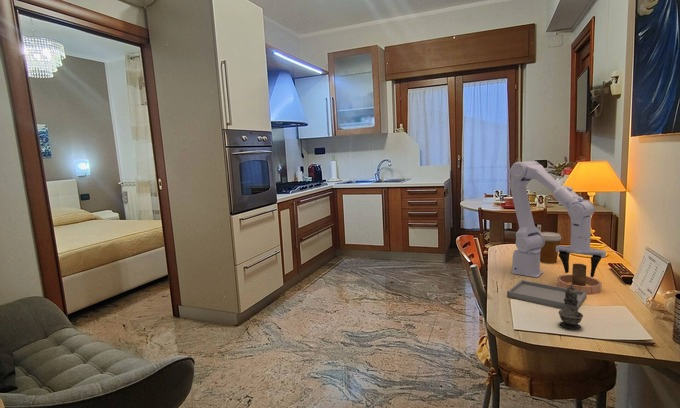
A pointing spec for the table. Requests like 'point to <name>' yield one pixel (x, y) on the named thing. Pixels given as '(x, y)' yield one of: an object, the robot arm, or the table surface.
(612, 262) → the table surface
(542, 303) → the tray
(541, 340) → the table surface
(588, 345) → the table surface
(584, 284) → the dowel
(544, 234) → the disposable coffee cup
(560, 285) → the pinkish brown ring
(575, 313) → the dark grey figurine
